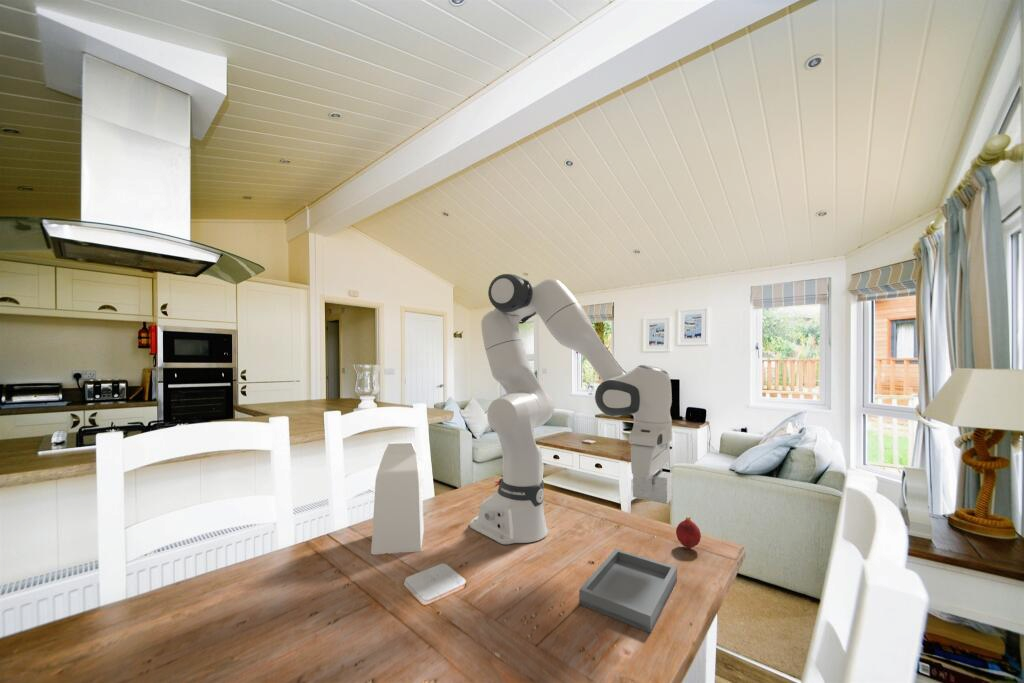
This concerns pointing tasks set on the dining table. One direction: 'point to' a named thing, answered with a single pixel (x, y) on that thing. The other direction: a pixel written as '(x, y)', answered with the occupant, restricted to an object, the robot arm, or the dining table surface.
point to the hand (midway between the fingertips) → (652, 488)
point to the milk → (398, 501)
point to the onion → (688, 533)
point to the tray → (629, 589)
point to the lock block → (655, 488)
